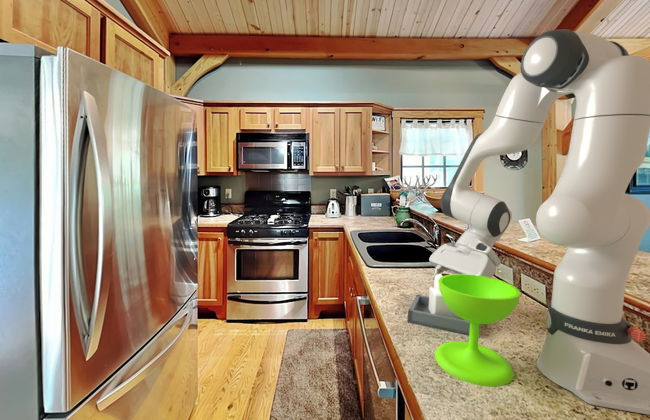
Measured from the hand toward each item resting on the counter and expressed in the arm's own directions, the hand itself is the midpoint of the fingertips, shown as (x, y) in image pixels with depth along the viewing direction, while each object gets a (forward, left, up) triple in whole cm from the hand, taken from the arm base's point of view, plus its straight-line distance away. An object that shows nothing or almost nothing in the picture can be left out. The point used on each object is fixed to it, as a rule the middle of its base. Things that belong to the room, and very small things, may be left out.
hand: (443, 284), depth 89 cm
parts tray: (0, 0, -11) cm, 11 cm away
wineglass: (-8, +20, -11) cm, 24 cm away
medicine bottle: (0, 0, -10) cm, 10 cm away
